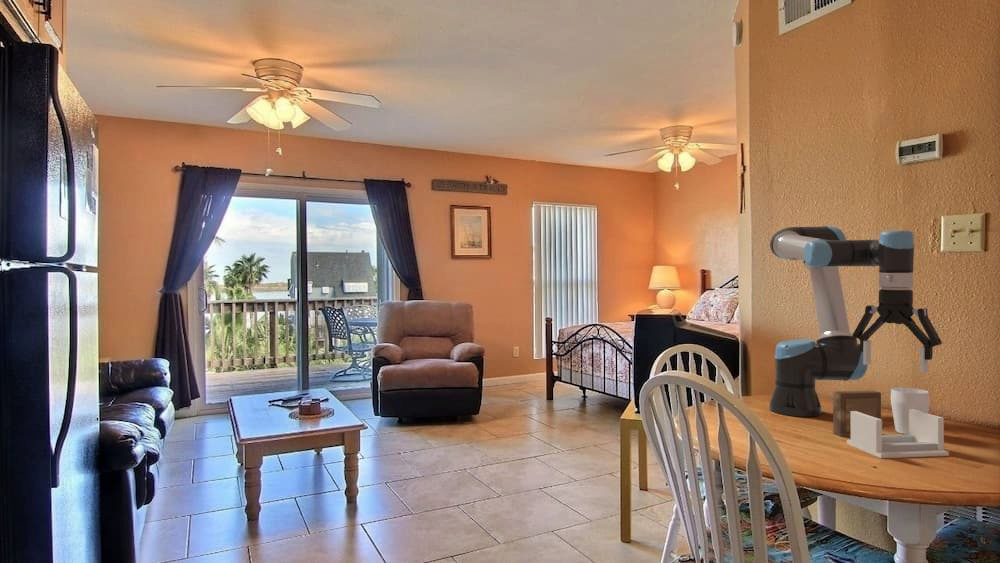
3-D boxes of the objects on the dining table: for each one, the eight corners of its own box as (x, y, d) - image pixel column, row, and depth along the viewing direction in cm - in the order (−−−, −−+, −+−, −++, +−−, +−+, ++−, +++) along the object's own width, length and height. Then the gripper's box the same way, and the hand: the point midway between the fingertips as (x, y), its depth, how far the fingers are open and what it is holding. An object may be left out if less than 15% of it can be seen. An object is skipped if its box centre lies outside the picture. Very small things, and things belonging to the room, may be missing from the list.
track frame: (846, 443, 150) (846, 409, 150) (909, 441, 152) (909, 408, 152) (880, 458, 139) (880, 421, 138) (948, 455, 140) (949, 419, 140)
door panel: (833, 433, 160) (833, 391, 160) (872, 432, 161) (872, 390, 161) (841, 436, 157) (841, 393, 157) (881, 435, 158) (881, 392, 158)
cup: (936, 437, 155) (936, 394, 155) (899, 436, 157) (899, 393, 157) (919, 429, 164) (919, 387, 164) (884, 427, 166) (884, 386, 166)
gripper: (839, 287, 160) (838, 362, 160) (945, 291, 139) (943, 377, 139) (853, 286, 164) (852, 359, 164) (958, 290, 142) (956, 373, 143)
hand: (894, 368), depth 152 cm, fingers open, 13 cm apart
